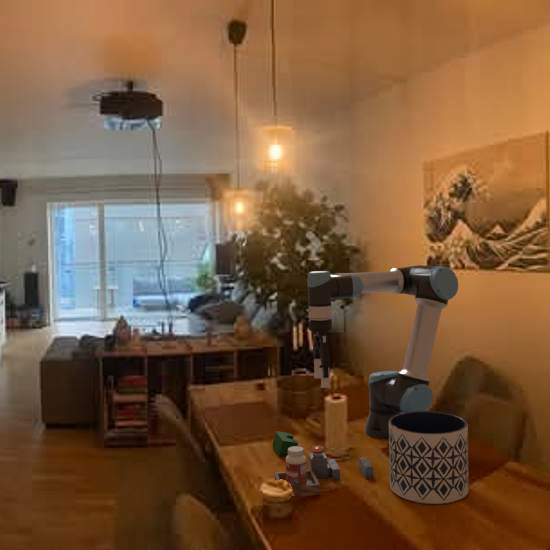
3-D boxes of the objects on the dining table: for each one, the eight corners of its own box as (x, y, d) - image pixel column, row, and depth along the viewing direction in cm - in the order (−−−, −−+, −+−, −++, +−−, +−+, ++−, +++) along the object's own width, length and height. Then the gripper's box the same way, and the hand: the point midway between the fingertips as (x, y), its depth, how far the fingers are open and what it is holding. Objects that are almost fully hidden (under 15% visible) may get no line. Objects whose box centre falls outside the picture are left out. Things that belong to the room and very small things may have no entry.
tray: (313, 479, 198) (312, 469, 198) (319, 494, 186) (319, 484, 186) (274, 481, 197) (274, 472, 196) (278, 497, 185) (278, 487, 185)
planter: (456, 512, 172) (454, 438, 170) (378, 496, 183) (376, 427, 182) (477, 483, 190) (476, 416, 189) (405, 470, 202) (404, 407, 201)
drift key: (323, 467, 202) (322, 445, 202) (325, 472, 198) (325, 449, 198) (311, 468, 202) (310, 445, 201) (313, 473, 198) (312, 450, 197)
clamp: (292, 466, 221) (300, 446, 217) (275, 464, 220) (283, 444, 216) (287, 443, 232) (294, 423, 228) (271, 441, 230) (278, 421, 227)
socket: (366, 467, 206) (366, 447, 206) (373, 478, 197) (372, 457, 197) (308, 471, 204) (307, 451, 204) (312, 482, 195) (312, 461, 195)
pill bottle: (282, 486, 191) (280, 449, 190) (294, 479, 195) (293, 443, 195) (298, 490, 187) (297, 453, 186) (311, 484, 191) (310, 447, 191)
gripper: (303, 314, 221) (305, 374, 223) (314, 324, 196) (317, 392, 198) (324, 313, 222) (326, 373, 223) (339, 323, 197) (340, 391, 199)
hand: (322, 382), depth 211 cm, fingers open, 13 cm apart
